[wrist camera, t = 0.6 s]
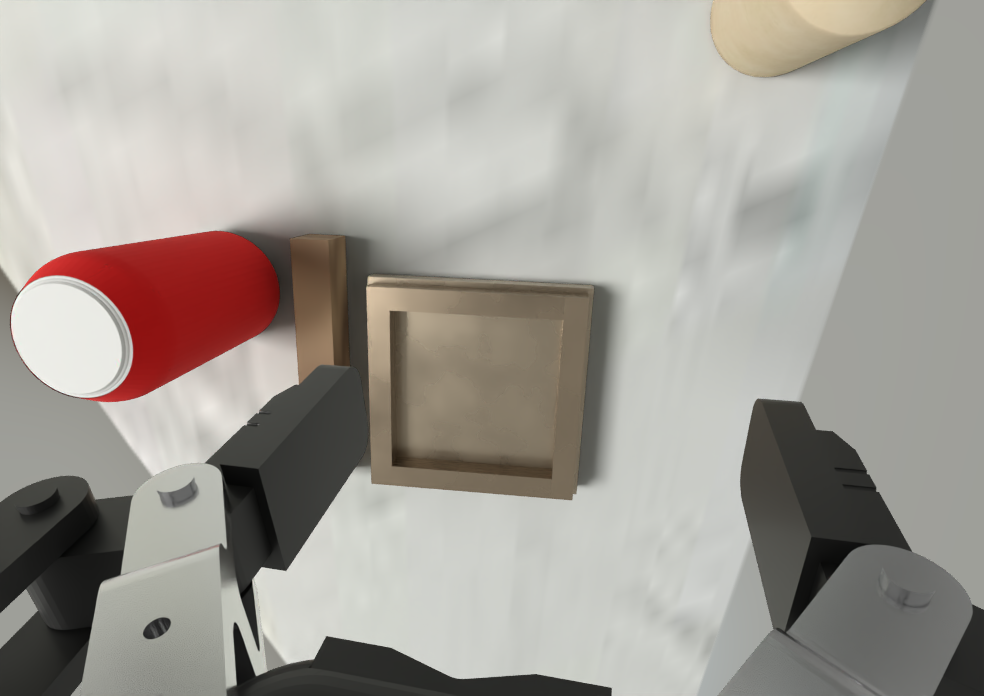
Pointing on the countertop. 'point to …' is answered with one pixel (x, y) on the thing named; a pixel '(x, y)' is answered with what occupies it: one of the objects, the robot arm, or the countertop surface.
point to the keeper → (477, 383)
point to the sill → (320, 301)
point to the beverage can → (141, 312)
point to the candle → (796, 30)
